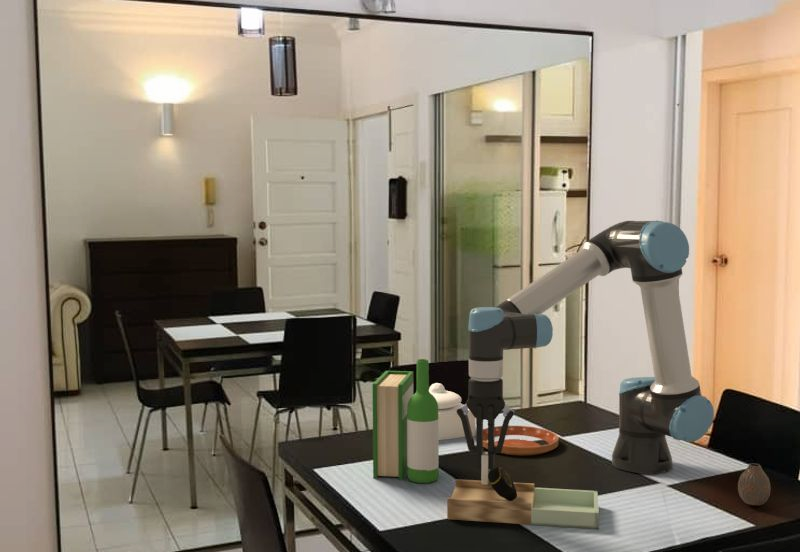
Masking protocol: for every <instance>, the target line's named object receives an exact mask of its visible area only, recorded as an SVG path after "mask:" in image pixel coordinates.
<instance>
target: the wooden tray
mask: <svg viewBox="0 0 800 552" xmlns="http://www.w3.org/2000/svg"><path fill="white" fill-rule="evenodd" d="M513 483H514V486H515V489H516V492H517V497H516V499H514V500H513V501H509V500H507V499H505V498H503V497H501V496H499V495H498V494H497V493H496V491H495V490H494V489H492V487H491V485H490V482H489V483H488V485H485V484H481V480H479V479H477V480H474V479H459V478H458V479H457V478H456V479H455V487H454V489H453V492H452V494H451V497H447V498H446V501H447V502H446V503H447V504H446V505H447V506H446V508H447V511H446V514H447V515H446V517H447V518H446V519H447V520H459V521H471V522H473V521H474V522H483V523H484V522H487V523H499V524H500V523H503V524H516V525H520V524H521V525H531V508H533V507H534V488H535V483H532V482H531V483H527V482H514V481H513ZM531 526H532V525H531Z"/></svg>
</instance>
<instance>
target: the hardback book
mask: <svg viewBox="0 0 800 552" xmlns="http://www.w3.org/2000/svg"><path fill="white" fill-rule="evenodd" d="M412 395H414V371H407V370H403V371H402V370H401V371H400V370H385V371H384V372H383V373H382V374H381V375H380V376H379V377H378V378H377V379H376V380H374V382H373V383H372V475H373V477H372V478H373V479H375V478H376V479H378V478H379V477H398V480H399V481H403V480H404V478H405V476H406V474H407V405H408V402H409V399H410V398H411V397H412ZM377 477H378V478H377Z"/></svg>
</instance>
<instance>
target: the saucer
mask: <svg viewBox="0 0 800 552" xmlns="http://www.w3.org/2000/svg"><path fill="white" fill-rule="evenodd" d="M501 429H502V425H499V426H496V425H495V436H494V438H497V437H499V436H500V433H501ZM506 436H523V437H524V436H525V437H531V438H535V439H540V440H541V441H542V440H543V441H545V442H546V443H548V444H544V445H543V444H542V445H541V444H540V443H537V442H535V441H531V440H528V439H521V440H520V438H507V439H506V438H505V440H504V444H503V448H502V451H501V452H500V453H499V454H502V455H508V456H509V455H511V456H535V455H541V454H545V453H548V452H550V451H553V450H554V449H557V447H559V441H560V440H559V436H558V435H557V433H555V432H553V431H552V430H551V431H550V430H548V429H544V428H540V427H534V426H527V425H508V429H507V432H506ZM497 444H498V440H494V447H495V446H497ZM483 449H486V450H488V427H486V428H483Z"/></svg>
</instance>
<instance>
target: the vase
mask: <svg viewBox="0 0 800 552" xmlns="http://www.w3.org/2000/svg"><path fill="white" fill-rule="evenodd" d="M770 482H771V481H770V479H769V476H768V475H767V474H766V473H765V471H764V470H763V468H762V466H761V465H760V463H753V462H752V463H749V464H748V466H747V468H746V469H744V471H743V472H741V474H740V476H739V478H738V482H737V491H738V495H739V497H740V498H741V500H742V501H743V503H745V504H748V505H750V506H762V505H763V504H765V503H767V502H768V500H769V497H770V496H771V483H770Z"/></svg>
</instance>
